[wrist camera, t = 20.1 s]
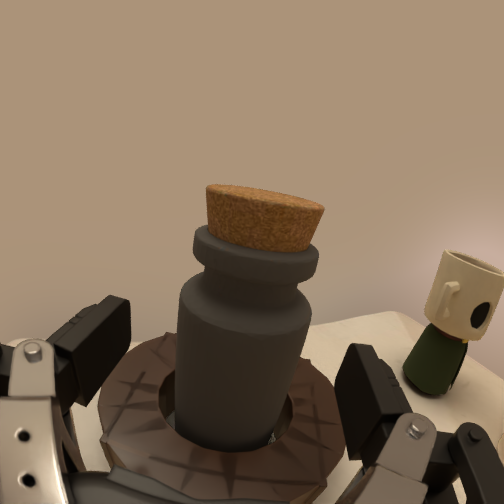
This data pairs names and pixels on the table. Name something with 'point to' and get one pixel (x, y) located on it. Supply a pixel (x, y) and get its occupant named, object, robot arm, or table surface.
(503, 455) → the foam cup
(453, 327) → the character mug
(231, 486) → the stand
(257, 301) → the bottle
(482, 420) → the table surface
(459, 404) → the table surface
